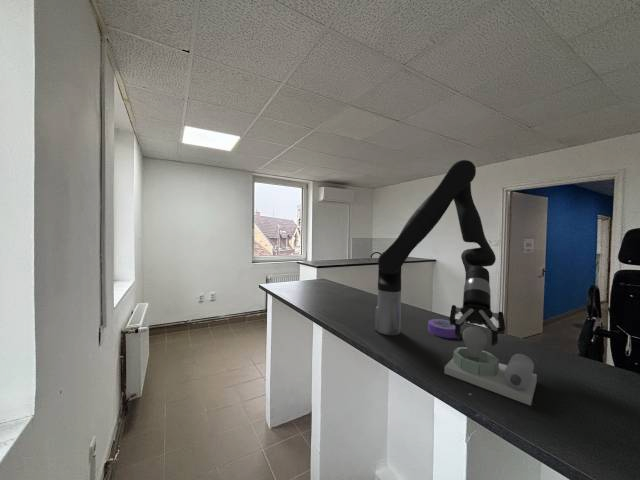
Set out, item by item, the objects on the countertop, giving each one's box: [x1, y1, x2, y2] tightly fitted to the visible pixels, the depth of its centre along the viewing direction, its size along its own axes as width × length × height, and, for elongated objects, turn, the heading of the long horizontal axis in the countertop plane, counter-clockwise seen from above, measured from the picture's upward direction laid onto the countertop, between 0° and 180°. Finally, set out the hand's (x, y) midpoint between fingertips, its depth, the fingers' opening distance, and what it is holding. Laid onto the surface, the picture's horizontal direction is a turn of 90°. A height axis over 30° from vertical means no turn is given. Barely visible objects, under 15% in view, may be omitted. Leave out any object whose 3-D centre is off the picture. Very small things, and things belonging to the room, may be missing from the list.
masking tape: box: [427, 318, 458, 339], centre depth 103 cm, size 12×12×4 cm
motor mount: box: [443, 346, 538, 407], centre depth 70 cm, size 19×14×7 cm
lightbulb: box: [462, 326, 488, 363], centre depth 73 cm, size 6×6×11 cm
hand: (475, 341), depth 73 cm, fingers open, 8 cm apart
